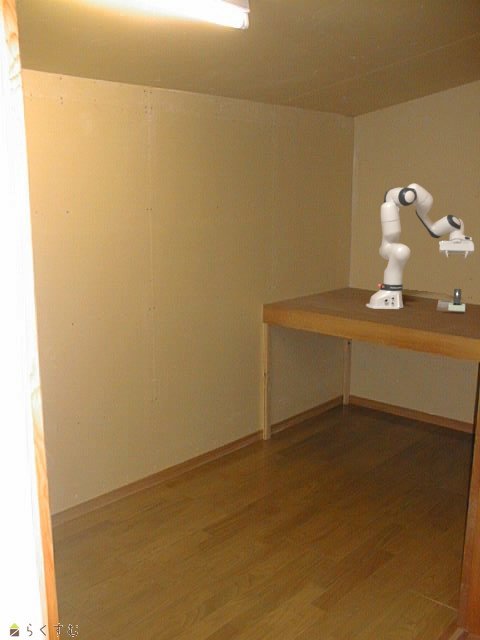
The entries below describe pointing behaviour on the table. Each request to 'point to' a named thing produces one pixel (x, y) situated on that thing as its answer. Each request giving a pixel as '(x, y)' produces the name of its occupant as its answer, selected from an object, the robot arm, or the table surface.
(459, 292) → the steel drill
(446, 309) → the tool board
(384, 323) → the table surface
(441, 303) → the socket
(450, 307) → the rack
